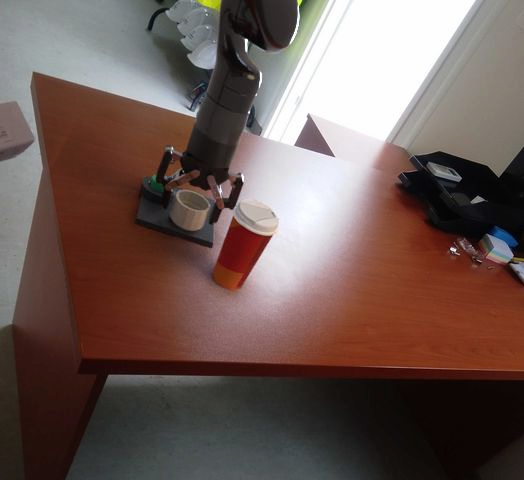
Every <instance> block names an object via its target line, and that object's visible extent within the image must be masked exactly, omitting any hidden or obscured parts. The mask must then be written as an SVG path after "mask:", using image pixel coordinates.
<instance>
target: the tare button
mask: <svg viewBox="0 0 524 480" xmlns="http://www.w3.org/2000/svg"><path fill="white" fill-rule="evenodd" d="M156 175H157V174H153V175H152V176H151V177H152V179H151V183H150V187H151V188H152V189H154V190H155V191H158V192H162V193H163V189H164V187H163V185H161V184H158V183H157V182H156V181H155V179H156Z"/></svg>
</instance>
